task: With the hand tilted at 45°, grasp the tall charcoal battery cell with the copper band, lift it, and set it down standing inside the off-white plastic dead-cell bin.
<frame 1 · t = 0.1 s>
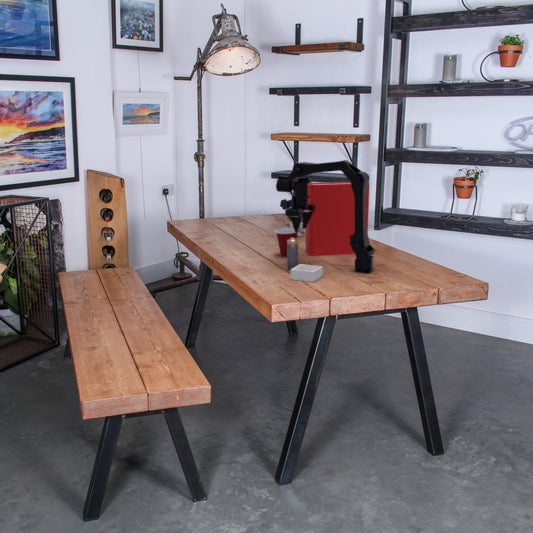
hand: (300, 230, 259), 15 cm above the table, tool pointing down, fingers open, 9 cm apart
decorative jar: (295, 235, 326), on the table
battery cell: (292, 270, 252), on the table
plastic cup: (286, 256, 278), on the table
book: (335, 253, 283), on the table
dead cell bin: (306, 277, 240), on the table
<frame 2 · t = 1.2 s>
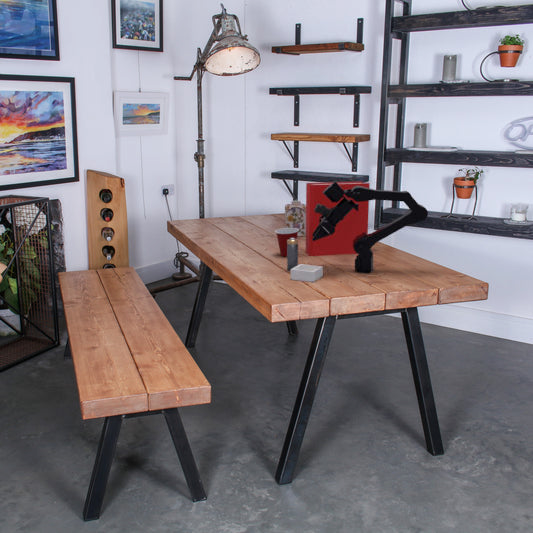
hand: (312, 238, 248), 13 cm above the table, tool tilted 45°, fingers open, 9 cm apart
nothing on the table moved.
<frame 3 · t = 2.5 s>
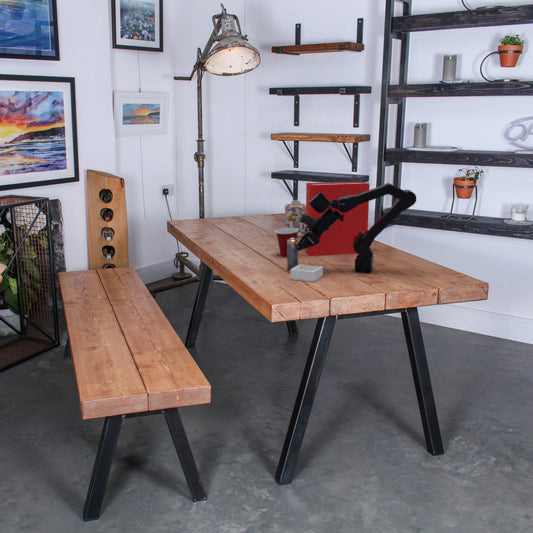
hand: (297, 247, 250), 9 cm above the table, tool tilted 45°, fingers open, 9 cm apart
nothing on the table moved.
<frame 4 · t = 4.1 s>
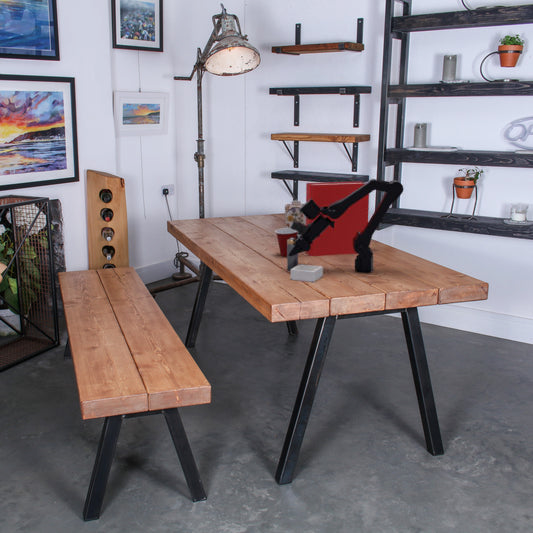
hand: (289, 254, 251), 7 cm above the table, tool tilted 45°, fingers closed on battery cell, 4 cm apart
battery cell: (292, 270, 252), on the table, touching gripper
everything else where it was.
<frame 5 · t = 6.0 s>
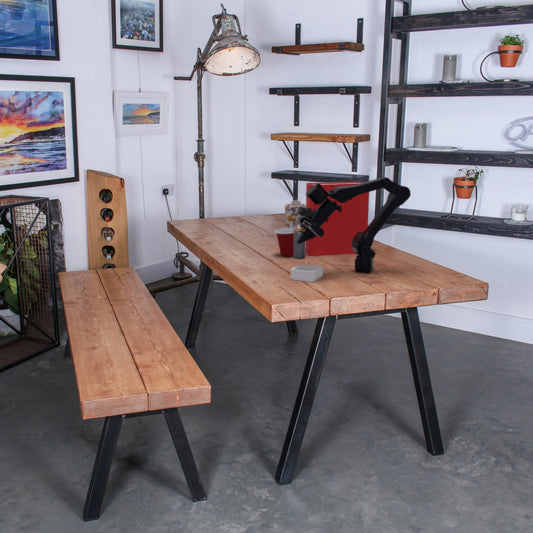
hand: (296, 242, 241), 13 cm above the table, tool tilted 45°, fingers closed on battery cell, 4 cm apart
battery cell: (299, 258, 243), point 7 cm above the table, touching gripper
everything else where it was.
when the fingers open (8 cm above the table, at t = 7.9 s): battery cell drops 1 cm, resting on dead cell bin.
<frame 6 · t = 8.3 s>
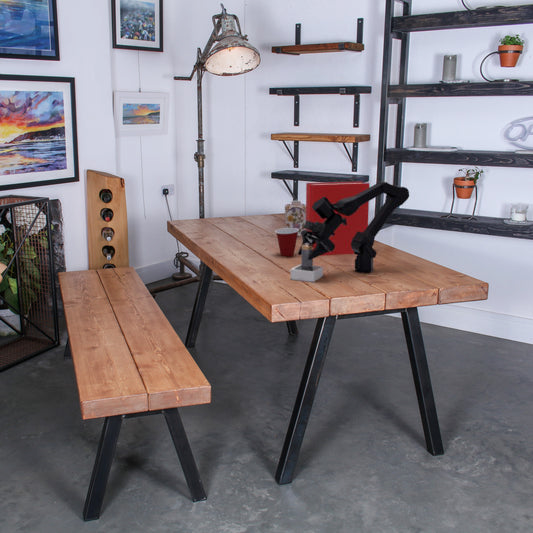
hand: (303, 256, 237), 9 cm above the table, tool tilted 45°, fingers open, 8 cm apart
battery cell: (306, 276, 240), point 1 cm above the table, touching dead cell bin
everything else where it was.
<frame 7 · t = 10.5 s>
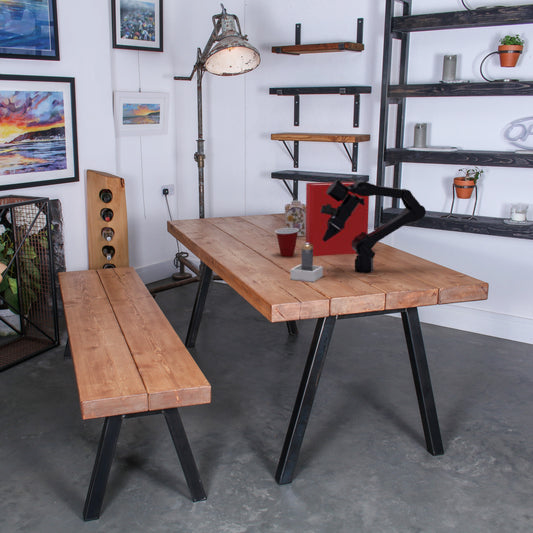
hand: (323, 240, 244), 13 cm above the table, tool tilted 35°, fingers open, 9 cm apart
nothing on the table moved.
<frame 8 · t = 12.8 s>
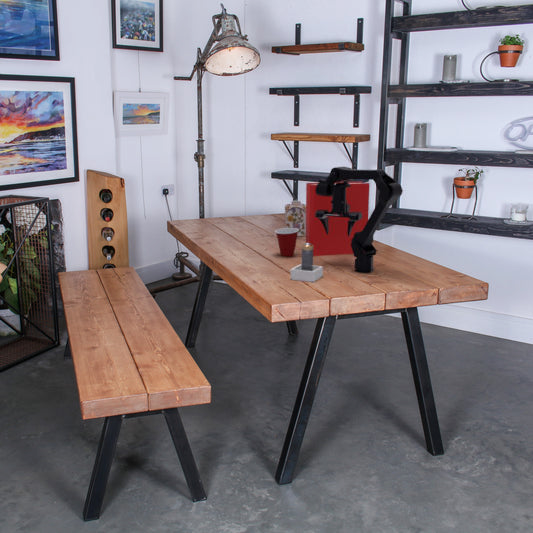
hand: (338, 235, 256), 13 cm above the table, tool pointing down, fingers open, 9 cm apart
nothing on the table moved.
at the end: battery cell 0.0 cm off-centre on the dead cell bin, point 0.5 cm above the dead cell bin's base; the gripper is holding nothing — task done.
